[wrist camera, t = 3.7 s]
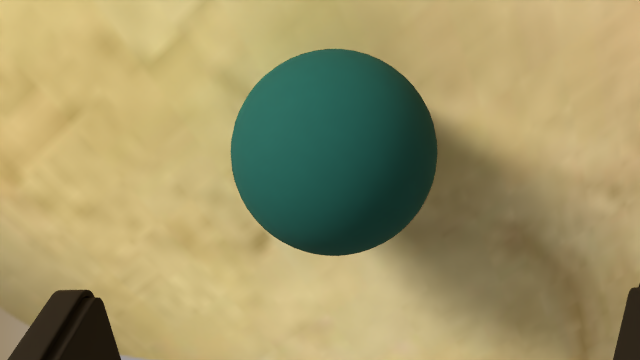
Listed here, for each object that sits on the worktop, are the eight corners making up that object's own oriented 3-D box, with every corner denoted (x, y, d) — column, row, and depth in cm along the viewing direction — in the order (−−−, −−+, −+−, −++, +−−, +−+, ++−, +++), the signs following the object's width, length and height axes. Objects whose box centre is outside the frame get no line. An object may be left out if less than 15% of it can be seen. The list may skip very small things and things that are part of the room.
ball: (257, 194, 22) (230, 303, 16) (234, 31, 19) (194, 100, 14) (422, 186, 21) (449, 295, 16) (425, 19, 18) (458, 85, 13)
